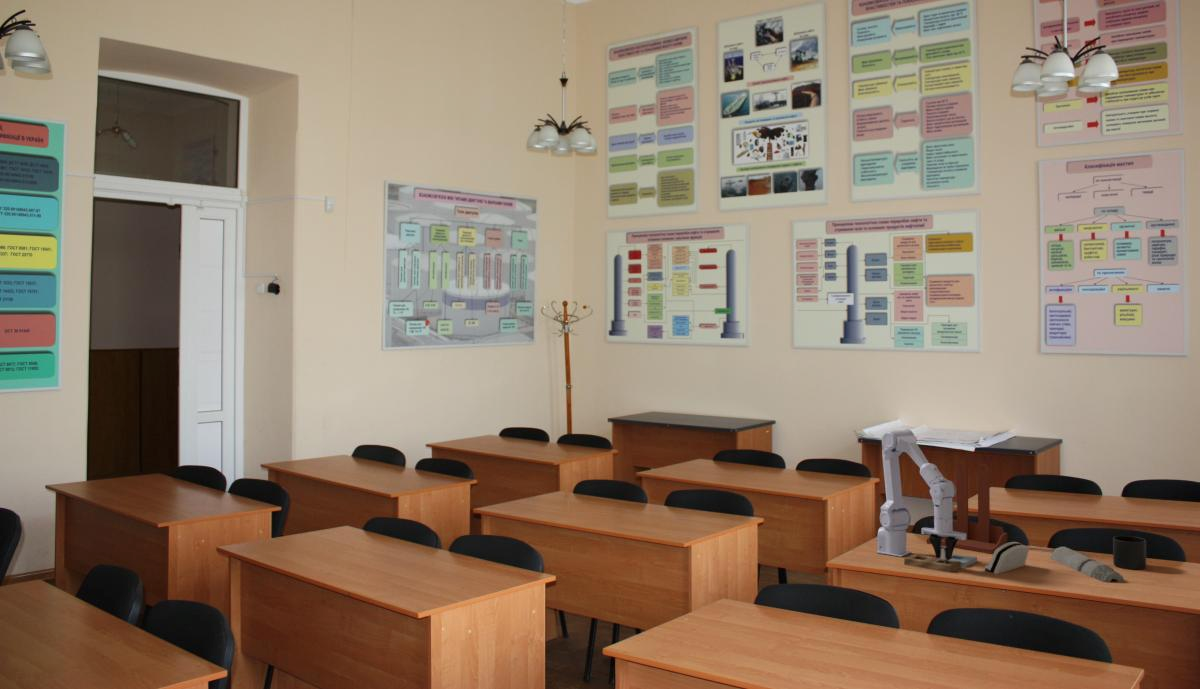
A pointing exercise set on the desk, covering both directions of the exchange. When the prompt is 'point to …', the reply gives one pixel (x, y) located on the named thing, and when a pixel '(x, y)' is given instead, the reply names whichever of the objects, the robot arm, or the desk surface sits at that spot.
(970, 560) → the socket block
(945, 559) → the peg
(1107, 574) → the grey elongated piece
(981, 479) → the hanging shelf
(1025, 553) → the grey arched plastic casing
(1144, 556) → the mug
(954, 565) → the rack
